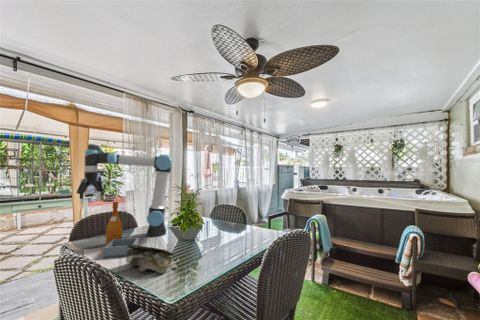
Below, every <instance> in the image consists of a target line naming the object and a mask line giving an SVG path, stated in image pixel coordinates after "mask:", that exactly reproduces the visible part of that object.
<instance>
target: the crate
mask: <svg viewBox="0 0 480 320" xmlns="http://www.w3.org/2000/svg"><path fill="white" fill-rule="evenodd" d="M127 245H139V237H133V238H132V237H130V238H122V239H113V240H111V241H110V243H109V244H108V245H107V246H106V245H105V246H104V247H103V259H109V258H112V259H113V258H121V257H123V258H124V257H126V255H127V251H129V250H132V249H131V248H129V247H128V246H127Z"/></svg>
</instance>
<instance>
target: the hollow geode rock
mask: <svg viewBox="0 0 480 320" xmlns="http://www.w3.org/2000/svg"><path fill="white" fill-rule="evenodd" d="M127 246H128V247H129V248H131V249H132V250H129V251H127V255H126V256H125V259H126V263H127V265H128V266H131V267H139V269H138V270H139V271H141V272H144V271H146V270H152V271H156V272H157V273H159V274H164V273H166V272H167V269H168V267H169V265H170V264H172V262H173V261H172V258H171V256H172V257H175V255H176V254H174V253H173V252H171V251H169V250H166V249H163V248H156V247H152V246H149V247H148V246H146V245H145V246H144V245H139V244H138V245H127Z"/></svg>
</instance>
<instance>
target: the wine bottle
mask: <svg viewBox="0 0 480 320" xmlns="http://www.w3.org/2000/svg"><path fill="white" fill-rule="evenodd" d="M118 208H119V202H118V201H113V202H112V214H111V217H110V219H109V221H108V223H107V226H106V230H105V247H106V246H107V245H108V244H109V243H110V241H111V240H113V239H123V224H122V222H121V219H120V217H119V213H118Z"/></svg>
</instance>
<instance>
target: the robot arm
mask: <svg viewBox="0 0 480 320" xmlns="http://www.w3.org/2000/svg"><path fill="white" fill-rule="evenodd" d="M98 164H103V165H104V164H105V165H106V164H108V165H121V166H122V165H125V166H137V167H138V166H139V167H153V169H154V172H155V174H156V176H155V181H154V187H153V188H154V189H153V195H152V201H151V205H150V206H149V207H148V213H147V216H146V222H147V223H148V228H147V231H146V236H147V237H162V236H164V235H166V234H167V229H166V225H165V213H166V206H165V199H166V192H167V186H168V178H169V175H170V174H171V172H172V167H173V159H172V157H170V156H169V155H168V154H160V155H158V156H154V157H152V156H138V155H125V154H116V153H114V152H113V153H112V152H110V153H109V152H105V153H104V152H103V153H102V152H101V153H100V152H99V151H98V150H96V149H88V150H85V153H84V178H81V179H80V184H79V186H78V188H77V191H76V194H78V195H79V199H80V200H79V204H83V205H84V204H85V203H86V202H85V200H86V199H85V197H86V195H85V192H86V191H87V189H89V187H90V186H93V187H94V189H96V193H95V194H96V195H95V196H96V197H95V198H96V201H101V195H102V192H103V191H104V187H103V184H102V181H101V178H100V177H98V174H99V173H98V170H99V169H98V167H99V165H98Z"/></svg>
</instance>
